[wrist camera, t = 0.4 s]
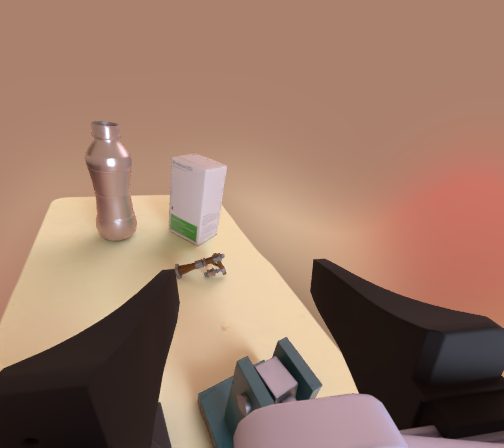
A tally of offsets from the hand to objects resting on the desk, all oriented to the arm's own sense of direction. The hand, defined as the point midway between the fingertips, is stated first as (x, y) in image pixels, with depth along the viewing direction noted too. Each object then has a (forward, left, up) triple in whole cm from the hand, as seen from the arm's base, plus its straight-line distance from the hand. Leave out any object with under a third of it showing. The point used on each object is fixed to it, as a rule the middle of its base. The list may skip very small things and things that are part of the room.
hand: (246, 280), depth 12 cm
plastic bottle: (+33, +16, -20) cm, 42 cm away
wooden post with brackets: (+22, +1, -20) cm, 30 cm away
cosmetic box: (+35, +2, -20) cm, 40 cm away
